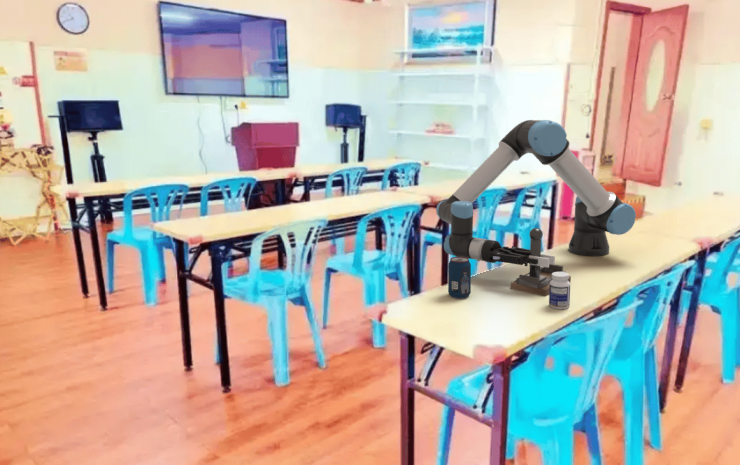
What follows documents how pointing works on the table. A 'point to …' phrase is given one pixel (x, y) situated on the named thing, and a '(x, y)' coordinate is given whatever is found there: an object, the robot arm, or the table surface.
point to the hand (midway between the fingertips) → (551, 261)
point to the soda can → (459, 277)
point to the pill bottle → (559, 291)
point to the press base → (537, 281)
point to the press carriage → (536, 253)
